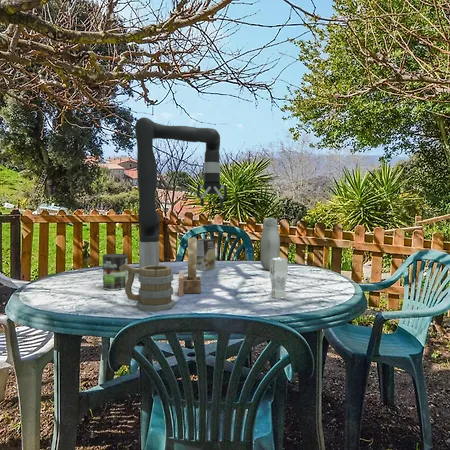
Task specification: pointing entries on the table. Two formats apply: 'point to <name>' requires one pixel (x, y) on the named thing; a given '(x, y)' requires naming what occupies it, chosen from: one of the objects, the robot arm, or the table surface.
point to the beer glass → (278, 276)
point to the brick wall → (181, 282)
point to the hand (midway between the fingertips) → (212, 206)
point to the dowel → (192, 258)
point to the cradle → (192, 285)
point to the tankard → (151, 287)
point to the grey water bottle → (269, 242)
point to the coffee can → (114, 271)
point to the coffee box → (205, 254)
